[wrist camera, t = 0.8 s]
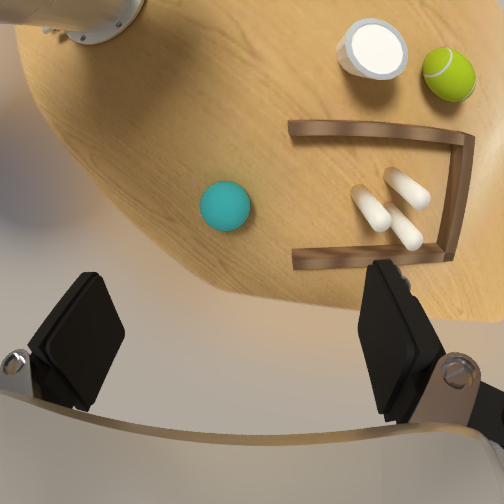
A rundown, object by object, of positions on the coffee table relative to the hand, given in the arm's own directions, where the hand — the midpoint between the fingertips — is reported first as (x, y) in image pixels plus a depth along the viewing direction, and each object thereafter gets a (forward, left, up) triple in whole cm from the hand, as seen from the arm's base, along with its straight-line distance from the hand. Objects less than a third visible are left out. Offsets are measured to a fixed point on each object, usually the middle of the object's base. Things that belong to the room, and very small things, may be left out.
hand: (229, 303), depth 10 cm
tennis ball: (+24, +11, -29) cm, 39 cm away
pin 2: (+17, -9, -29) cm, 35 cm away
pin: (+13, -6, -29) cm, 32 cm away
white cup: (+13, +12, -29) cm, 34 cm away
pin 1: (+17, -4, -29) cm, 34 cm away
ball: (-4, -6, -26) cm, 27 cm away
